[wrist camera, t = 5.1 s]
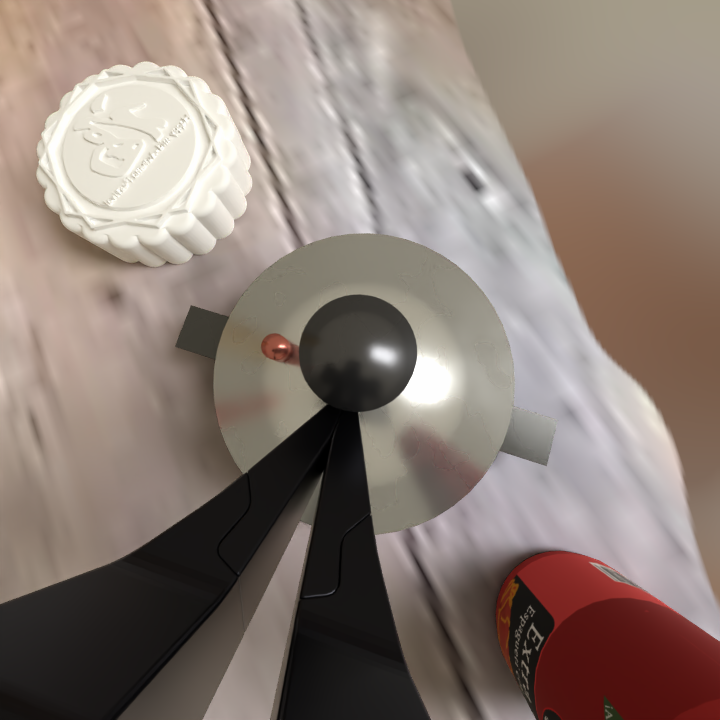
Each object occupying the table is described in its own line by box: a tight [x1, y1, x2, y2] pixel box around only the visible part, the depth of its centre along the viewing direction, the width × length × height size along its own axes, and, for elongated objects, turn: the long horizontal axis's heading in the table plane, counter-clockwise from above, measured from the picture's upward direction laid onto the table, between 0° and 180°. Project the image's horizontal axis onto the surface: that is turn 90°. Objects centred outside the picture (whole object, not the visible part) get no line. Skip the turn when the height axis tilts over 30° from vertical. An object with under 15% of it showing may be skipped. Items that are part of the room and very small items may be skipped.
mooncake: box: [36, 62, 252, 267], centre depth 20 cm, size 12×12×4 cm
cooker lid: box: [213, 234, 515, 535], centre depth 12 cm, size 15×15×9 cm
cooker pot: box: [175, 306, 558, 466], centre depth 18 cm, size 14×20×3 cm
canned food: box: [496, 551, 720, 720], centre depth 12 cm, size 8×8×11 cm
